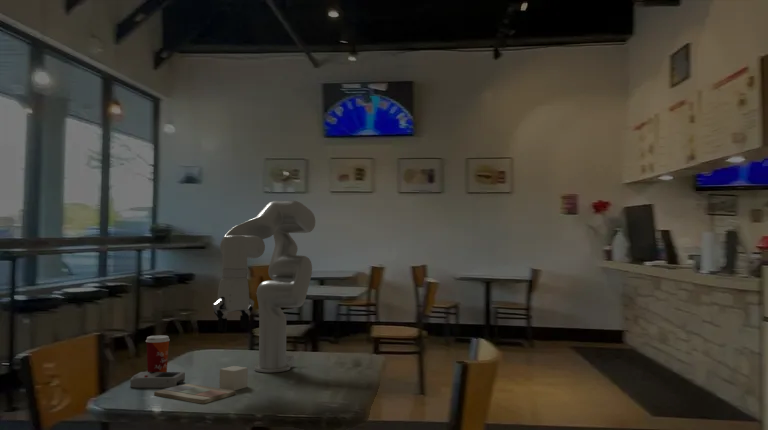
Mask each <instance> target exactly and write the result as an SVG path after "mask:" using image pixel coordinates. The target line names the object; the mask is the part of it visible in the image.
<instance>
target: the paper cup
mask: <svg viewBox="0 0 768 430" xmlns="http://www.w3.org/2000/svg"><path fill="white" fill-rule="evenodd" d="M170 341H171V340H170V336H168V335H160V334H159V335H150V336H147V337H146V340H145V342H146V362H147V365H146V366H147V367H146V368H147V372H168V359H169V348H170V347H169V346H170Z"/></svg>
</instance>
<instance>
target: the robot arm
mask: <svg viewBox="0 0 768 430" xmlns="http://www.w3.org/2000/svg"><path fill="white" fill-rule="evenodd" d="M315 227H316V217H315V214H314V213H313V211H312V210H311V209H310V208H308V207H307V206H306V205H304V204H303V203H302V202H300V201H296V200H272V201H270V202H268V203H267V204H266V205H265V206H264V207H263V208H262V209H261V210H260V212H259V213H258V214H257V215H256V216H255V217H254V218H251V219H248V220H246V221H244V222H242V223H239V224H237V225H235V226H233V227H232V228H230V229H229V230H228V231H227V232H226V234H224V236H223V237H222V239H221V241H220V245H219V250H220V253H221V255H222V268H221V269H222V270H221V271H222V272H221V275H222V278H221V279H220V281H219V284H218V290H217V298H216V299H217V300H216V301H215V302H214V303H213V304H212V308H213V313H214V315H215V316H216V318H217V320H218V321H217V331H218V332H224V333H225V332H227V331H228V318H227V316H228V314H229V313H231V312H240V313H241V315H240V316H239V328H240V329H249V328H250V315H251V314H252V311H253V307H254V305H255V300H253V299H252V298H250V289H249V280H248V259H249V260H250V259H251V260H252V259H253V260H254V259H257V258H260V257H262V255H263V254H264V252H265V250H266V245H265V241H264V240H265V239H268V238H271V237H272V236H273V240H274V249H273V252H272V256H271V259H270V262H269V266H268V270H267V272H268V277H269V278H270V279H271V280H270V279H268V280H264V281H262V282H261V283H259V285H258V287H257V289H256V297H257V298H256V299H257V305H258V319H259V320H258V321H259V322H258V323H259V325H258V326H259V328H258V332H259V333H258V334H259V335H258V339H259V340H258V358H259V359H258V364H257V365H254V371H255V372H258V373H266V374H267V373H268V374H269V373H281V372H287V371H289V370H291V365H290V364H289V363H288V362H290V361H293V360H294V358H295V357H294V355H293V354H291V355H288V354H287V317H286V315H285V313H284V312H283V310H282V308H287V309H288V308H291V309H292V308H295V309H297V308H300V307H303V305H304V303H305V301H306V297H307V294H308V290H309V288H310V287H309V286H310V284H311V283H310V282H311V279H312V278H311V277H312V274H313V264H312V261H311V259H310V258H309V257H307V256H306V255H297V254H298V253H297V252H298V244H297V242H296V241H295V240H294V238H293V237H292V236H291V235H290V234H300V233H301V234H305V233H311V232H312V231H314V230H315V229H314V228H315Z"/></svg>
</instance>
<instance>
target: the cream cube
mask: <svg viewBox="0 0 768 430" xmlns="http://www.w3.org/2000/svg"><path fill="white" fill-rule="evenodd" d="M248 372H249V368H248V367H244V366H237V365H232V366H228V367H222V368H219V388H220V389H226V390H233V391H237V390H240V389H245V388H248V383H249V382H248V376H249V375H248Z"/></svg>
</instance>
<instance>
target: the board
mask: <svg viewBox="0 0 768 430" xmlns="http://www.w3.org/2000/svg"><path fill="white" fill-rule="evenodd" d="M153 395H154V396H157V397H163V398H168V399H175V400H179V401H186V402H192V403H196V404H202V405H203V404H206V403H210V402H211V403H212V402H214V401H218V400H221V399H224V398H229V397H232V396H234V395H237V390H234V391H233V390H227V389H220V387H219V388H218V387H213V386H208V385H207V386H206V385H200V384H195V383H194V384H193V383H185V384H184V383H183V384H179V385H177V386H175V387H170V388H163V389H161V390H157V391H154V392H153Z"/></svg>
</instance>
